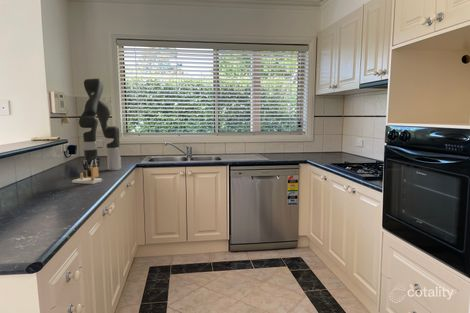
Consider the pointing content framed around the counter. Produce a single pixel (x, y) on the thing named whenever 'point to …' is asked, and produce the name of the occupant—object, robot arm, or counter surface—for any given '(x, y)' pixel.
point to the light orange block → (93, 172)
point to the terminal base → (86, 180)
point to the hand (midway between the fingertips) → (92, 175)
